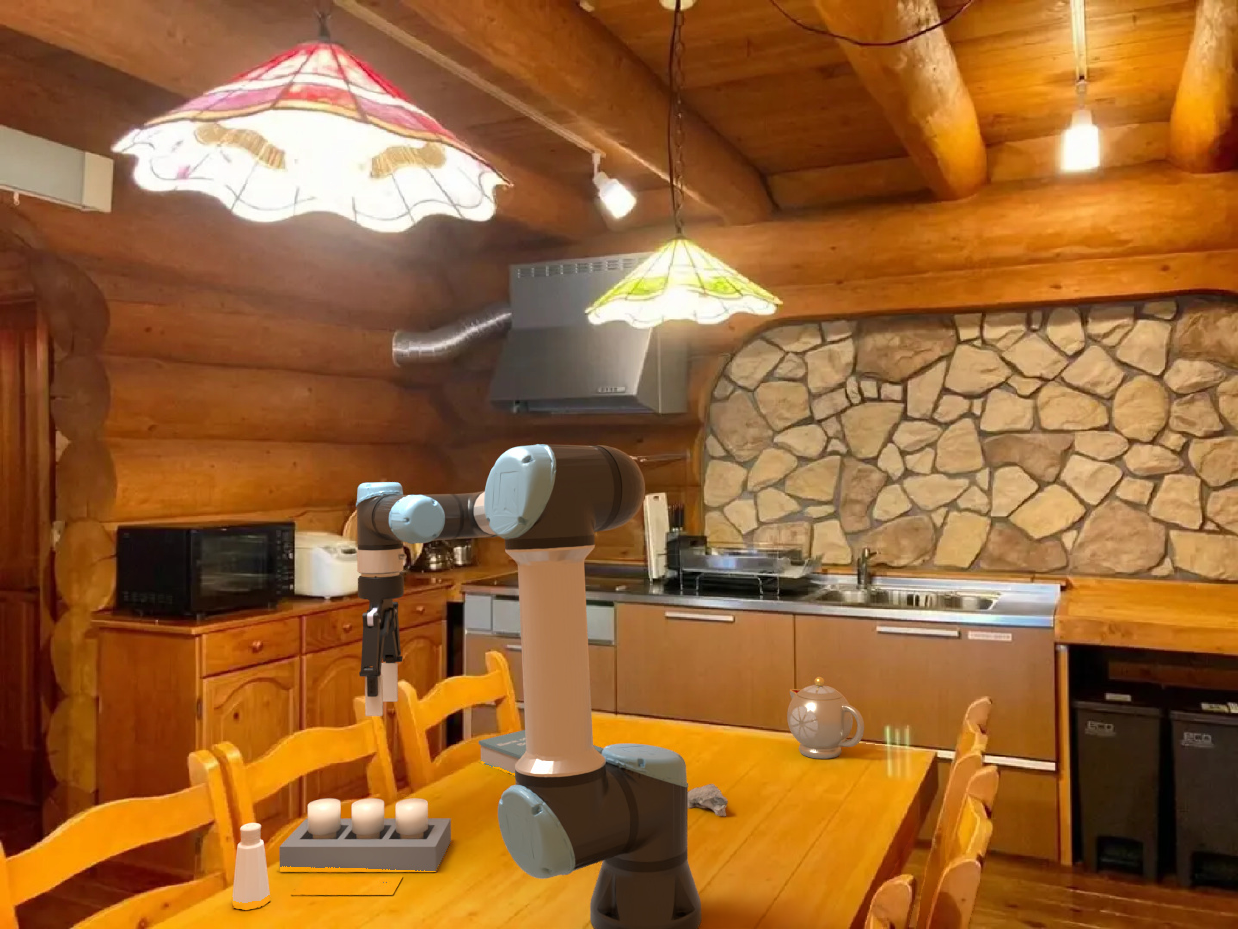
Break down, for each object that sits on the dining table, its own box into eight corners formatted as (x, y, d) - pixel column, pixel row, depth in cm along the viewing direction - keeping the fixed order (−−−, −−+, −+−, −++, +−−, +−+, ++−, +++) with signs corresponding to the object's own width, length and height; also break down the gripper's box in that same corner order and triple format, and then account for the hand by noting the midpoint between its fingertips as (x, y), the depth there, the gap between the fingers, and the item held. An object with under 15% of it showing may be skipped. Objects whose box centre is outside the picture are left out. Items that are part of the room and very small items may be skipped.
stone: (694, 823, 172) (694, 799, 172) (677, 797, 184) (677, 775, 184) (730, 820, 173) (730, 797, 173) (711, 795, 185) (711, 773, 185)
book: (478, 764, 206) (478, 740, 206) (540, 749, 217) (539, 726, 217) (545, 790, 190) (545, 764, 190) (608, 772, 200) (608, 747, 200)
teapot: (772, 754, 210) (771, 677, 210) (808, 740, 220) (807, 667, 220) (846, 771, 198) (845, 690, 198) (881, 757, 207) (880, 678, 207)
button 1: (335, 847, 155) (334, 809, 155) (303, 847, 155) (303, 809, 155) (344, 835, 160) (344, 798, 160) (314, 835, 160) (313, 798, 160)
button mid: (379, 847, 154) (379, 809, 154) (347, 847, 155) (347, 809, 155) (387, 835, 159) (387, 798, 159) (357, 835, 160) (356, 798, 160)
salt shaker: (276, 894, 144) (275, 818, 144) (264, 910, 139) (263, 832, 139) (238, 895, 144) (238, 819, 144) (225, 911, 138) (224, 833, 138)
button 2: (424, 847, 154) (423, 809, 154) (392, 847, 154) (392, 809, 154) (431, 835, 159) (430, 798, 159) (400, 835, 159) (399, 798, 159)
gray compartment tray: (435, 873, 151) (435, 846, 151) (279, 873, 151) (279, 847, 151) (450, 842, 163) (450, 818, 163) (306, 842, 163) (306, 818, 163)
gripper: (386, 581, 155) (387, 725, 155) (417, 567, 177) (419, 692, 177) (338, 582, 155) (340, 725, 155) (376, 567, 177) (377, 693, 177)
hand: (382, 708), depth 166 cm, fingers open, 9 cm apart
